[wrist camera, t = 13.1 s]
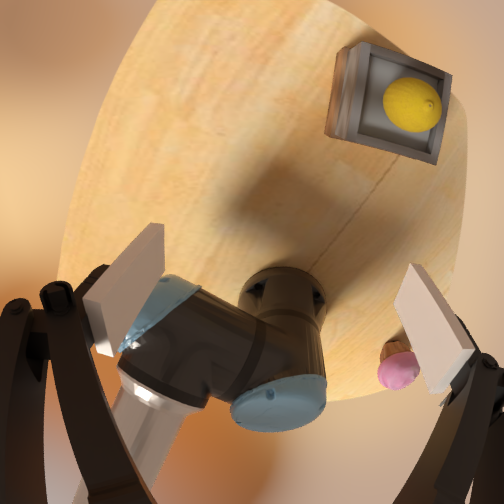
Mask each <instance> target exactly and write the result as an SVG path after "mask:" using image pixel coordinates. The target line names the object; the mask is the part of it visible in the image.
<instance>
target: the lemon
mask: <svg viewBox="0 0 504 504" xmlns="http://www.w3.org/2000/svg"><path fill="white" fill-rule="evenodd" d="M383 107H384V110H385V113H386V115H387V116H388V118H389V119H390V121H391V122H392V123H393V124H394V125H396V126H397V127H399V128H401V129H402V130H405V131H408V132H417V133H419V132H424V131H427V130H429V129H431V128H433V127H434V126H435V125H436V124H437V123H438V121H439V119H440V117H441V113H442V104H441V100H440V98H439V95H438V94H437V92H436V91H435V89H434V88H433V87H431V86H430V85H429V84H428V83H426V82H424V81H422V80H420V79H416V78H412V77H406V78H400V79H397V80H395V81H394V82H392V83H391V84H390V85H389V86H388V87H387V89H386V90H385V93H384V95H383Z"/></svg>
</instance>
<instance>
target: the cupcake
mask: <svg viewBox="0 0 504 504" xmlns="http://www.w3.org/2000/svg"><path fill="white" fill-rule="evenodd" d="M380 362H381V364H380V366H379V368H378V379H379V381H380V383H381V384H382V385H383V386H385V387H386V388H389V389H392V390H399V389H402V388H405V387H406V386H408V385H409V384H410V383H412V382H413V381H414V379H415V378H416V377H417V376H418V375H419V372H420V366H419V363H418V361H417V358H416V356H415V353H414V352H411V350H410V349H409V348H408V347H407V345H406V344H404V343H402V342H400V341H396V342H388V343H386V344H385V345H384V346H383V349H382V352H381V354H380Z"/></svg>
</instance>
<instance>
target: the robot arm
mask: <svg viewBox="0 0 504 504" xmlns="http://www.w3.org/2000/svg"><path fill="white" fill-rule="evenodd" d="M164 271H165V256H164V224H158V223H150V224H149V225H148V226H147V227H146V228H145V229H144V230H143V231H142V232H141V233H140V234H139V235H138V236H137V237H136V238H135V239H134V240H133V241H132V242H131V243H130V245H129V246H128V247H127V248H126V249H125V250H124V251H123V252H122V253H121V254H120V255H119V256H118V258H117V259H116V260H115V261H114V262H113V263H112V264H111V265H105V264H103V265H101V266H99V267H97V268H96V269H94V270H93V271H92V272H91V273H90V274H89V275H88V277H87V278H86V279H85V280H84V281H83V283H81V284H80V285H79V286H78V288H77V289H76V290H75V291H74V292H73V289H72V286H71V285H70V284H69V283H68V282H65V281H54V282H51V283H49V284H47V285H46V286H44V287H43V288H42V289H41V291H40V294H39V295H40V299H41V302H42V305H43V308H44V310H43V309H41V310H40V309H32V308H31V305H30V303H29V301H28V300H26V299H23V298H18V299H14V300H12V301H10V302H9V303H7V304H6V306H5V307H4V309H3V311H2V314H1V316H0V504H48V502H47V494H46V484H45V471H44V443H43V434H44V433H43V431H44V403H45V402H44V401H45V389H46V378H47V369H48V360H51V363H52V369H53V375H54V380H55V385H56V390H57V394H58V399H59V403H60V407H61V411H62V415H63V419H64V423H65V426H66V430H67V433H68V436H69V440H70V443H71V446H72V449H73V452H74V455H75V458H76V461H77V464H78V466H79V469H80V472H81V474H82V479H81V481H80V484H79V486H78V489H77V492H76V495H75V497H74V500H73V503H72V504H157V502H156V501H155V499H154V498H153V496H152V494H151V492H150V490H151V488H152V486H153V484H154V482H155V480H156V478H157V476H158V474H159V472H160V470H161V468H162V466H163V464H164V461H165V459H166V457H167V455H168V453H169V451H170V449H171V447H172V445H173V443H174V441H175V439H176V436H177V435H178V432H179V430H180V428H181V426H182V424H183V422H184V420H185V418H186V416H188V415H190V414H193V413H196V412H199V411H202V410H203V409H204V408H205V406H206V404H207V402H208V400H209V398H210V397H211V396H212V397H215V398H217V399H220V400H222V401H224V402H227V403H229V404H231V406H230V413H231V416H232V419H233V420H234V421H235V422H236V423H237V424H238V425H239V426H241V427H243V428H246V429H248V430H252V431H258V432H282V431H287V430H292V429H296V428H299V427H302V426H304V425H306V424H308V423H310V422H312V421H313V420H315V419H316V418H317V417H318V416H319V415H320V414H321V413H322V411H323V410H324V408H325V405H326V388H327V380H326V373H325V366H324V359H323V352H322V345H321V338H320V331H321V328H322V325H323V322H324V319H325V316H326V310H327V305H326V299H325V294H324V291H323V289H322V287H321V285H320V284H319V282H318V281H317V280H316V279H315V278H314V277H312V276H311V275H309V274H308V273H306V272H304V271H301V270H299V269H295V268H290V267H276V268H270V269H266V270H263V271H261V272H259V273H257V274H255V275H254V276H253V277H251V278H250V279H249V280H248V281H247V282H246V283H245V285H244V286H243V288H242V290H241V292H240V295H239V300H238V308H237V307H235V306H233V305H231V304H230V303H228V302H226V301H224V300H222V299H220V298H218V297H217V296H215V295H213V294H211V293H209V292H207V291H206V290H204V289H202V286H200V285H195V284H193V283H191V282H189V281H186V280H184V279H182V278H180V277H178V276H176V275H172V274H169V275H165V276H162V274H163V273H164ZM161 276H162V277H161ZM160 277H161V278H160ZM393 305H394V307H395V309H396V311H397V313H398V316H399V318H400V320H401V322H402V325H403V327H404V329H405V332H406V334H407V336H408V339H409V341H410V344H411V346H412V348H413V351H414V353H415V356H416V358H417V361H418V363H419V366H420V369H421V371H422V374H423V377H424V379H425V382H426V385H427V388H428V390H429V393H430V394H436V393H443V392H444V390H445V389H446V388H447V387H448V386H449V384H450V385H451V388H452V391H451V392H450V393H449V394H448V396H447V397H446V398H445V399H444V400H443V401H442V402H441V404H440V405H439V406H442V405H443V404H444V406H443V409H442V412H441V414H440V416H439V418H438V421H437V423H436V425H435V428H434V430H433V432H432V434H431V436H430V439H429V441H428V443H427V445H426V447H425V449H424V451H423V453H422V454H421V456H420V458H419V460H418V462H417V464H416V466H415V467H414V469H413V471H412V473H411V474H410V476H409V478H408V480H407V481H406V483H405V485H404V487H403V488H402V490H401V491H400V493H399V494H398V496H397V497H396V499H395V500H394V502H393V504H465V499H466V496H467V494H468V491H469V489H470V486H471V483H472V481H473V486H472V492H471V498H470V503H469V504H504V412H503V411H502V408H503V407H504V368H500V367H499V365H498V363H497V361H496V360H495V359H494V358H493V357H492V356H491V355H489V354H487V353H481V351H480V350H479V348H478V346H477V345H476V343H475V341H474V339H473V338H472V336H471V335H470V333H469V331H468V329H466V326H465V324H464V323H463V321H462V320H461V319H460V318H459V317H458V316H457V315H456V314H454V313H453V311H452V309H451V308H450V306H449V304H448V303H447V301H446V300H445V298H444V297H443V295H442V294H441V292H440V291H439V289H438V288H437V286H436V285H435V284H434V282H433V281H432V279H431V278H430V276H429V275H428V274H427V272H426V271H425V269H424V268H423V267H422V265H419V264H414V263H410V265H409V267H408V270H407V272H406V275H405V277H404V279H403V282H402V284H401V287H400V289H399V291H398V294H397V296H396V298H395V300H394V303H393ZM94 343H95V346H96V349H97V352H98V353H101V354H105V355H108V356H111V357H114V356H115V354H116V352H117V351H118V352H119V353H121V352H122V356H121V358H120V360H119V362H118V364H117V370H118V373H119V375H120V378H121V381H122V385H121V387H120V390H119V392H118V394H117V396H116V399H115V401H114V403H113V405H112V407H111V409H110V407H109V404H108V402H107V399H106V396H105V393H104V391H103V388H102V385H101V382H100V379H99V376H98V374H97V370H96V367H95V364H94V361H93V358H92V354H91V351H90V348H91V347H92V345H93V344H94ZM473 478H474V480H473Z"/></svg>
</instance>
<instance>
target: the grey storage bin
mask: <svg viewBox="0 0 504 504" xmlns="http://www.w3.org/2000/svg"><path fill="white" fill-rule="evenodd" d="M406 77H412V78H416V79H420V80H422V81H424V82H426V83H428V84H429V85H430V86H431V87H433V88H434V89H435V91H436V92H437V94H438V95H439V98H440V100H441V104H442V113H441V117H440V119H439V121H438V123H437V124H436V125H435V126H434V127H433V128H431V129H429V130H427V131H424V132H419V133H417V132H408V131H405V130H402V129H401V128H399V127H397V126H396V125H394V124H393V123H392V122H391V121H390V119H389V118H388V116H387V115H386V113H385V110H384V107H383V95H384V93H385V90H386V89H387V87H388V86H389V85H390V84H391V83H392V82H394V81H395V80H397V79H400V78H406ZM451 83H452V75H451V74H449V73H447V72H444V71H442V70H440V69H437V68H435V67H433V66H431V65H429V64H426V63H424V62H421V61H419V60H416V59H414V58H411V57H409V56H406V55H403V54H400V53H398V52H395V51H392V50H389V49H386V48H383V47H380V46H376V45H373V44H370V43H367V42H363V41H361V42H360V43H358V44H357V45H356V46H354V47H353V48H352V49H351V48H347V47H344V48H342V49H341V50H340V51H339V52H338V53H337V56H336V63H335V70H334V77H333V83H332V90H331V96H330V102H329V109H328V115H327V121H326V126H325V132H324V134H326V135H327V136H329V137H331V138H336V139H340V140H345V141H349V142H353V143H357V144H362V145H366V146H370V147H374V148H377V149H381V150H385V151H388V152H392V153H396V154H399V155H402V156H406V157H409V158H412V159H417V160H420V161H424V162H427V163H430V164H433V165H436V164H437V160H438V156H439V151H440V147H441V142H442V137H443V132H444V127H445V122H446V116H447V110H448V104H449V98H450V91H451Z"/></svg>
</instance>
